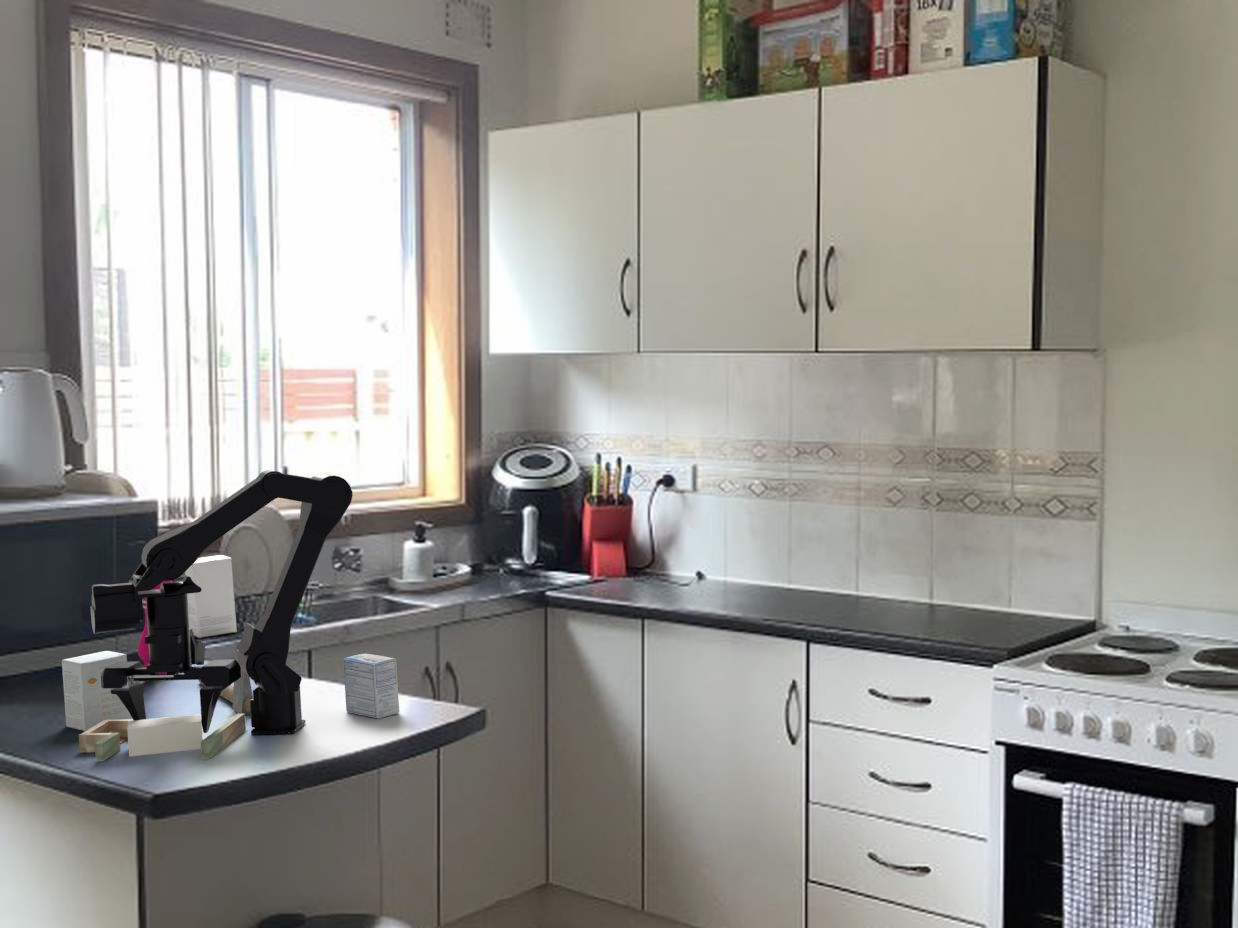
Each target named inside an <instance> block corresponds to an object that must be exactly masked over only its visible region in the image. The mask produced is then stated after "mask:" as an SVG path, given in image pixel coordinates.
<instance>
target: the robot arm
mask: <svg viewBox="0 0 1238 928" xmlns="http://www.w3.org/2000/svg"><path fill="white" fill-rule="evenodd" d="M276 499H282V500H283V499H284V500H290V501H296V502H300V504H301V505H300V512H299V513H300V514H299V525H298V529H297V532H296V534H295V537H294V540H293V542H292V545H290V546H291V547H290V550H289V552H288V554H287V557H286V559H285V562H284V564H283V567H282V569H281V572H280V574H279V577H278V579H277V580H276V581H277V582H276V584H275V586H274V589H273V591H272V594H271V597H270V598H269V601H268V604H267V606H266V608H265V612H264V614H263V615H262V617H261V618H260V619H259V620H258V622H257V623H256V624H255V626H254V625H252V624H250V622H246V623H245V625H244V629H243V633H242V636H241V639H240V640H239V641H240V642H239V643H238V644H236V646H235V650H237V651H239V653H238V662H237V661H236V660H235V659H212V660H211V661H209V662H207V663H206V664H205V655H206V643H205V642H203V641H201V640H199V639H195V636H194V635H193V630H192V629H189V613H188V596H187V594H188V593H199V592H201V591H202V589H201V587H199V586H198V585H197V584H195V583H194V582H193V581H192V579H191V577H189V576H188V575H186V574H185V571H186V570H187V569H188V568H189V567H190V566H191V565H192V564H193V563H194V562H195V561H196V560H197V559H198V558H201V555H202V554H204V552H205V551H206V550H207V549H208V548H209V547H210V546H211V545H212V544H213V543H215V541H217V540H218V539H220V538H222V537H223V536H224V535H226V534H227V533H228V532H230V531H232V530H233V529H234V528H235V527H237V526H238V525H240V524H242V523H243V522H244V521H246V520H247V519H249V517H251V516H252V515H254V514H256V513H257V512H258V511H260V510H261V509H263V508H264V507H265V506H267V505H269V503H270V504H271V502H273V501H274V500H276ZM352 501H353V490H352V487H351V485H350V483H349V482H348V481H347V480H346V479H345V478H344V477H341V476H338V475H335V474H329V473H317V474H315V475H313V476H312V477H308V476H302V475H301V476H300V475H294V474H288V473H282V472H280V471H277V470H275V469H274V470H272V469H266V470H263V471H262V472H260V473H259V474H258V475H257V477H255V479H253V480H251V481H250V482H248V483H247V484H246V485H244V486H243V487H241V488H240V489H239V490H237V491H236V492H234V493H232V494H231V495H230V496H228V497H227V498H225V499H224V500H223V501H221V502H219V503H218V504H216V505H215V506H214V507H213V508H211V509H209V510H208V511H207V512H205V513H204V514H202V515H201V516H199V517H198V518H197V519H195V520H193V521H191V522H189V523H187V524H184V525H183V526H180V527H177V528H175V529H172V530H170V531H168V532H165V533H163V534H161V535H159V536H156V537H154V538H153V539H151V540H149V541H148V542H147V543H146V544H145V545H144V547H143V549H142V552H141V563H140V564H139V565H138V567H137V568H136V570H135V571H134V572H133V574H132V576H131V578H130V579H129V580H128V582H125V583H123V582H122V583H114V584H113V583H112V584H104V583H99V584H98V583H97V584H92V585H91V605H90V607H89V608H90V618H91V619H90V620H91V626H92V627H91V628H92V632H93V634H101V633H103V634H104V633H112V632H121V631H131V630H136V628H137V625H140V624H141V622H143V621H144V608H143V603H142V600H143V599H144V598H146V607H147V624H148V636H146V637H145V644H149V658H150V664H148V665H147V668H143V666H142V665H143V664H142V662H141V661H127V662H116V663H114V664H112V665H110V666H108V667H107V668H105V669H104V670H103V671H102V674H101V688H104V689H105V688H113V689H112V690H111V694H116V695H117V696H118V697H119V699H120V700H121V701H122V703H123V704H124V706H125V707H126V708H127V710H128V711H129V713H130V715H131V719H133V720H143V719H147V715H146V706H145V697H144V693H145V685H146V681H149V682H150V681H194V680H195V681H196V680H197V681H199V680H201V682H202V683H203V684H204V685H205V686H204V685H203V684H202V685H203V687H201V688H199V701H200V703H199V704H200V714H201V721H202V734H203V733H204V734H207V733H208V732H209V731H210V728H211V724H212V720H213V716H214V714H215V711H216V710H215V709H216V706H217V703H218V701H219V698H220V696H221V695H220V694H221V692H222V690H224V689H225V688H227V687H228V686H230V685H231V686H232V684H234V682H235V681H237V680H238V679H240V678H241V669H242V670H243V671H244V672H245V673H246V674H247V675H248V676H249V678H250V680H252V681H253V682H254V684H255V685H256V686H257V687H256V688H254V689H253V690H252V694H253V699H252V700H251V701H250V711H251V714H250V724H251V725H250V726H251V728H252V729H251V731H250V733H251V735H259V734H260V735H266V734H267V735H269V734H275V735H276V734H278V735H279V734H295V733H296V732H298V730H299V729H301V728H302V727H303V726H304V725H305V724H306V719H303V718H302V717H303V716H302V698H301V682H302V676H301V675H299V674H298V673H297V672H296V671H294V670H293V669H292V668H291V667H290V666H288V665H287V660H288V656H289V655H288V654H289V650H290V641H291V640H290V639H291V628H292V624H293V622H294V619H295V617H296V614H297V613H298V609H299V607H300V604H301V601H302V599H303V596H304V595H305V592H306V589H307V587H308V584H309V582H310V580H311V576H312V575H313V572H314V569H315V567H316V565H317V561H318V559H319V558H320V554H321V552H322V550H323V547H324V545H325V541H326V539H327V538H328V537H329V535H330V534H331V533H332V531H333V530H334V529H335V527H337V525H338V524H339V523H340V522H341V520H342V518H343V516H344V515H345V513H346V511H348V508H349V507H350V506H351V503H352ZM183 574H185V575H184V577H183V578H182V579H181V580H180V581H174V580H176V579H178V578H180V577H181V576H183ZM171 580H172V582H168V583H161V582H163V581H171ZM160 583H161V586H160V589H157V590H152V589H154V588H155V587H156V586H157V585H159V584H160ZM149 590H150V591H149ZM138 591H141V592H138ZM192 665H196V666H192ZM158 672H167V674H159V673H158ZM176 673H177V674H176Z"/></svg>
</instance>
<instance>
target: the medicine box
mask: <svg viewBox="0 0 1238 928" xmlns="http://www.w3.org/2000/svg"><path fill="white" fill-rule="evenodd" d="M397 670H398V669H397V659H396V658H394V657H389V656H385V655H377V654H371V653H361V654H360V653H359V654H354V655H351V656H347V657H345V658H343V676H344V677H343V678H344V679H343V680H344V691H345V693H344V695H345V696H344V697H345V710H346V712H347V713H350V714H356V715H360V716H365V717H369V718H374V719H378V720H379V719H383V718H387V717H390V716H394V715H395V716H396V715H399V713H400V701H399V700H400V699H399V685H398V671H397Z"/></svg>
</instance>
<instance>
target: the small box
mask: <svg viewBox="0 0 1238 928" xmlns="http://www.w3.org/2000/svg"><path fill="white" fill-rule="evenodd" d="M127 657H128V655H127V654H126V653H121V652H116V651H110V650H104V651H103V650H102V651H98V652H94V653H89V654H88V653H87V654H83V655H79V656H75V657H70V658H64V659H61V668H62V681H63V697H64V712H65V725H66V726H65V727H67V728H71V729H74V730H78V731H83V732H85V731H87V730H88V729H90V728H92V727H93V726H95V725H97V724H98V723H100V722H102V721H103V720H113V719H132V717H131V715H130V713H129V711H128V710H127V708H126V707H125V706H124V704H123V703H122V701H121V700H120V699H119V697H118V696H117V695H116V694H111V690H112V689H113V688H105V689H104V688H101V674H102V671H103V670H104V669H105V668H107V667H108V666H110V665H112V664H114V663H116V662H128V658H127Z"/></svg>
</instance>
